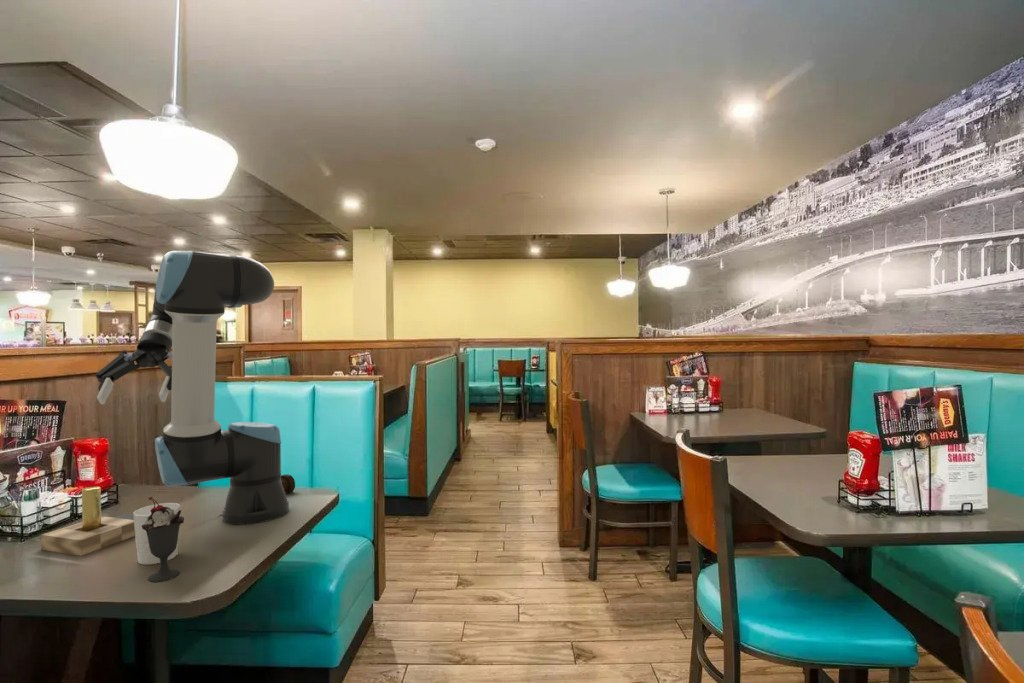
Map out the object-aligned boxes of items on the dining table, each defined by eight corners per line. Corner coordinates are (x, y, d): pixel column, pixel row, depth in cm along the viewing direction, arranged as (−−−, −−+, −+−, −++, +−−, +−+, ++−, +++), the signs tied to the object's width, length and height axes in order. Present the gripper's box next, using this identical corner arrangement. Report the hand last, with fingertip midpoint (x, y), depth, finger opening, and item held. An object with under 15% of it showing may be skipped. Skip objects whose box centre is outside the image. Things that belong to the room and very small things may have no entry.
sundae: (136, 578, 96) (134, 497, 96) (176, 565, 101) (175, 488, 101) (149, 588, 92) (147, 503, 92) (190, 574, 97) (189, 494, 97)
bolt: (241, 512, 139) (288, 495, 152) (251, 505, 136) (298, 488, 150) (233, 492, 140) (280, 477, 153) (243, 485, 138) (290, 470, 151)
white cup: (181, 560, 104) (180, 510, 104) (132, 570, 100) (131, 518, 100) (181, 547, 110) (180, 500, 110) (135, 555, 106) (135, 507, 106)
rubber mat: (154, 518, 129) (154, 516, 129) (122, 529, 122) (122, 528, 122) (125, 515, 132) (125, 513, 132) (91, 525, 125) (91, 524, 125)
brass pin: (105, 541, 115) (104, 487, 115) (89, 546, 112) (88, 491, 112) (95, 539, 116) (93, 486, 116) (79, 545, 112) (78, 490, 112)
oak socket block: (138, 536, 117) (138, 520, 117) (81, 557, 106) (80, 540, 106) (101, 531, 121) (100, 516, 121) (41, 551, 110) (40, 534, 110)
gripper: (209, 349, 150) (190, 406, 135) (111, 350, 145) (80, 411, 130) (202, 330, 145) (182, 388, 130) (100, 331, 139) (67, 392, 125)
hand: (131, 399), depth 130 cm, fingers open, 13 cm apart
